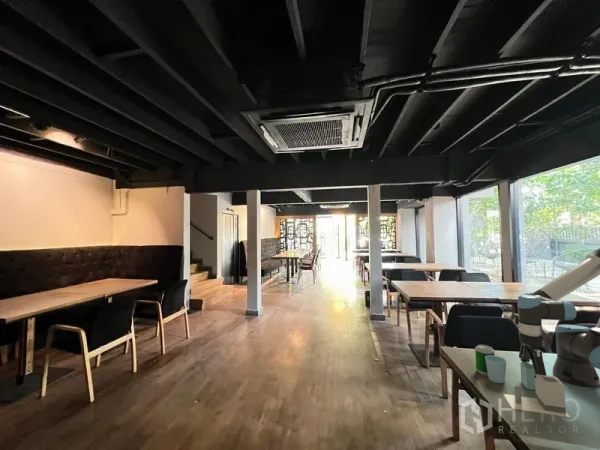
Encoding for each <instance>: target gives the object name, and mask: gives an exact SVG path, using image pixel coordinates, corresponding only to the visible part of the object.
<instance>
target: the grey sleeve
mask: <svg viewBox="0 0 600 450" xmlns="http://www.w3.org/2000/svg"><path fill="white" fill-rule="evenodd" d="M546 375H547V374H546ZM546 375H538V374H536V381H537V394H536V399H537V401H538V402H539V404H540V405H541V406H542V407H543V409H544V410H545V411H552V412H559V413H565V414H566V413H567V411H566V393H565V392H566V391H565V388H566V387H565V384H564V383H563V382H562V380H561V379H559V378H557V377H556V376H555V375H547V376H546Z"/></svg>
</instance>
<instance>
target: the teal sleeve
mask: <svg viewBox="0 0 600 450" xmlns="http://www.w3.org/2000/svg"><path fill="white" fill-rule="evenodd" d="M519 363H520V365H519V366H520V380H521V381H520V382H521V384H522V386H523V387H524V388H525V389H526V390H527V391H530V392H531V391H532V392H536V389H535V378H534V376H536V374H535V371H534V367H533V364H532V363H530V362H528V363H521V362H519Z"/></svg>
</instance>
